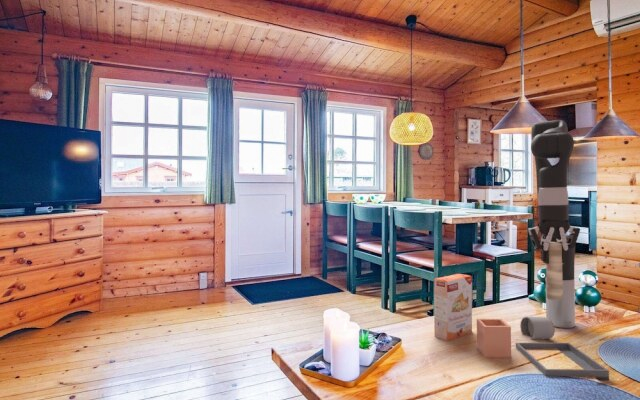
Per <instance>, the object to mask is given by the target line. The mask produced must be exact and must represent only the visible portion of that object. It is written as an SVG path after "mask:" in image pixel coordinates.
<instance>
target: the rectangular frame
mask: <svg viewBox="0 0 640 400" xmlns="http://www.w3.org/2000/svg"><path fill="white" fill-rule="evenodd" d="M515 349H516V350H518V351H519V352H520V354H522V355H523V356H524V357H525V358H526V359H527V360H528V361H529V362H530V363H531V364H532V365H534V366H535V368H537V369H538V370H539V371H540V372H541V373H542V374H543V376H545V377H546V376H547V377H593V378H595V380H598V381H609V380H610V370H609V369H607V368H605V366H603V365H601V364H600V363H599V362H597V361H596V360H595V359H593V358H591V357H590V356H588V355H587V354H586V353H584V352H583V351H581V350H580V349H579V348H577V347H575V346H574V345H573V344H571V343H570V342H515ZM526 349H557V350H558V351H559V352H560V353H562V354H563V355H564V356H565V357H567V358H568V359H569V360H571V361H572V362H574V363H575V364H576V365H577V366H578V367H580V368H578V369H577V368H575V369H574V368H570V369H569V368H546V367H545V366H544V365H543V364H542V363H541V362H539V360H537V359H536V358H535V357H534V356H533V355H532V354H531V353H530V352H528V351H527V350H526Z"/></svg>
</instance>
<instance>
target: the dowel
mask: <svg viewBox="0 0 640 400" xmlns="http://www.w3.org/2000/svg"><path fill="white" fill-rule="evenodd" d="M547 251H549V263H548V264H545V268H546V269H545V281H546V280H547V298H548V299H551V300H563V280H562V264H563V263H562V243H560V242H550V243H549V247H548V250H547Z"/></svg>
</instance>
